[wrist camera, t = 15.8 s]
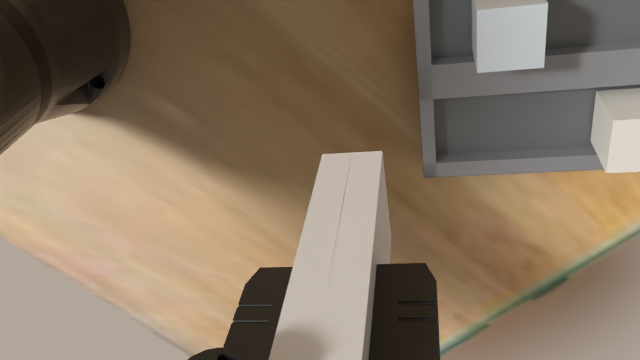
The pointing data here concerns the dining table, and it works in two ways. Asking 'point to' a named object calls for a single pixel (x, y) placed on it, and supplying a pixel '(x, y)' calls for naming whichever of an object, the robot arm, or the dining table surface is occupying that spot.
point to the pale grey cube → (509, 34)
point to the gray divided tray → (520, 89)
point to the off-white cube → (617, 129)
